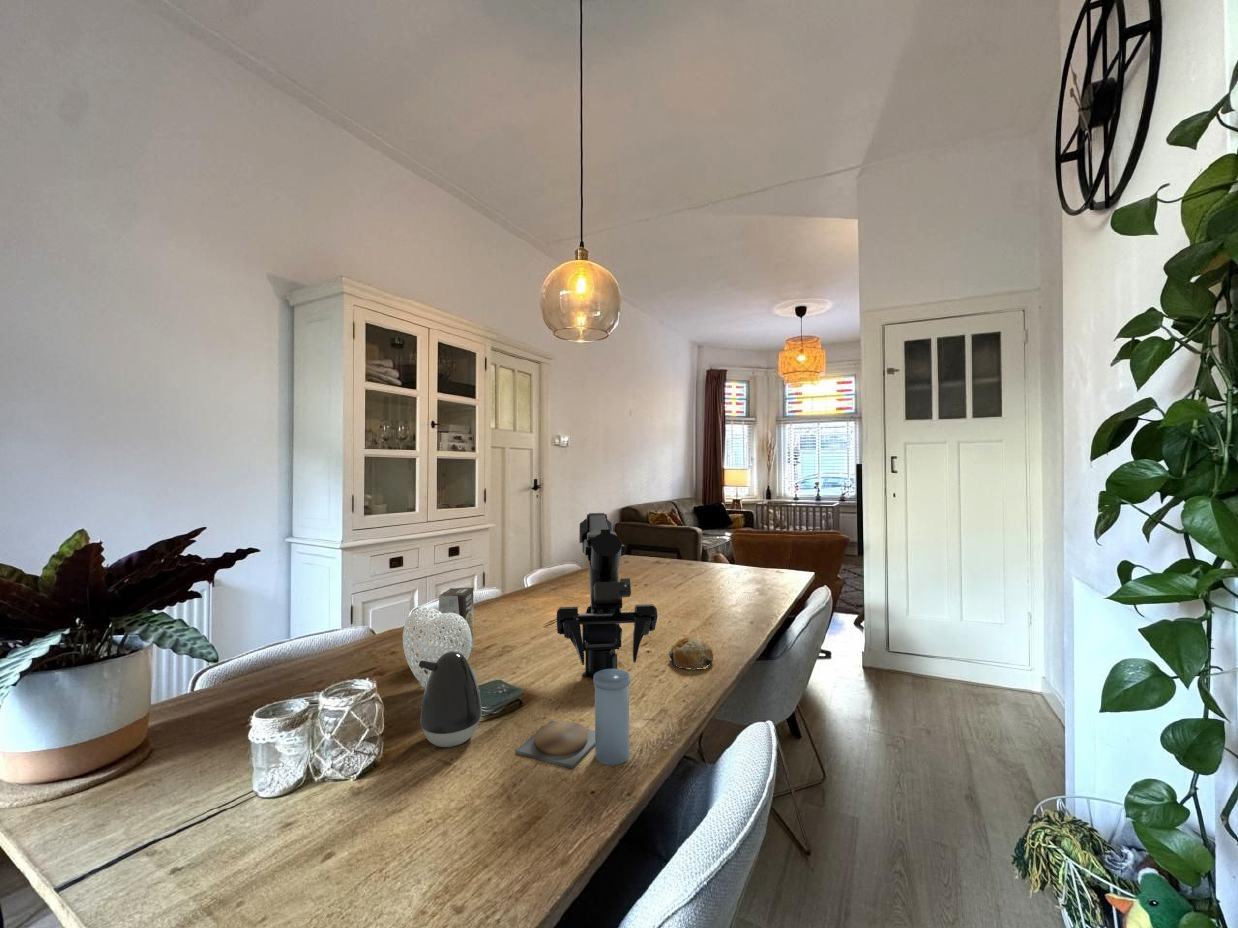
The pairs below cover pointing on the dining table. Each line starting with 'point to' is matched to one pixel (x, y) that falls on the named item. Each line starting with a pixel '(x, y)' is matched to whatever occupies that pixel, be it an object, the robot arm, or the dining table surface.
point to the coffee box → (458, 607)
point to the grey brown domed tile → (559, 743)
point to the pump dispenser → (450, 701)
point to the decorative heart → (435, 646)
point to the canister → (611, 716)
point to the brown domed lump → (691, 653)
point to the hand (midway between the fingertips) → (609, 662)
